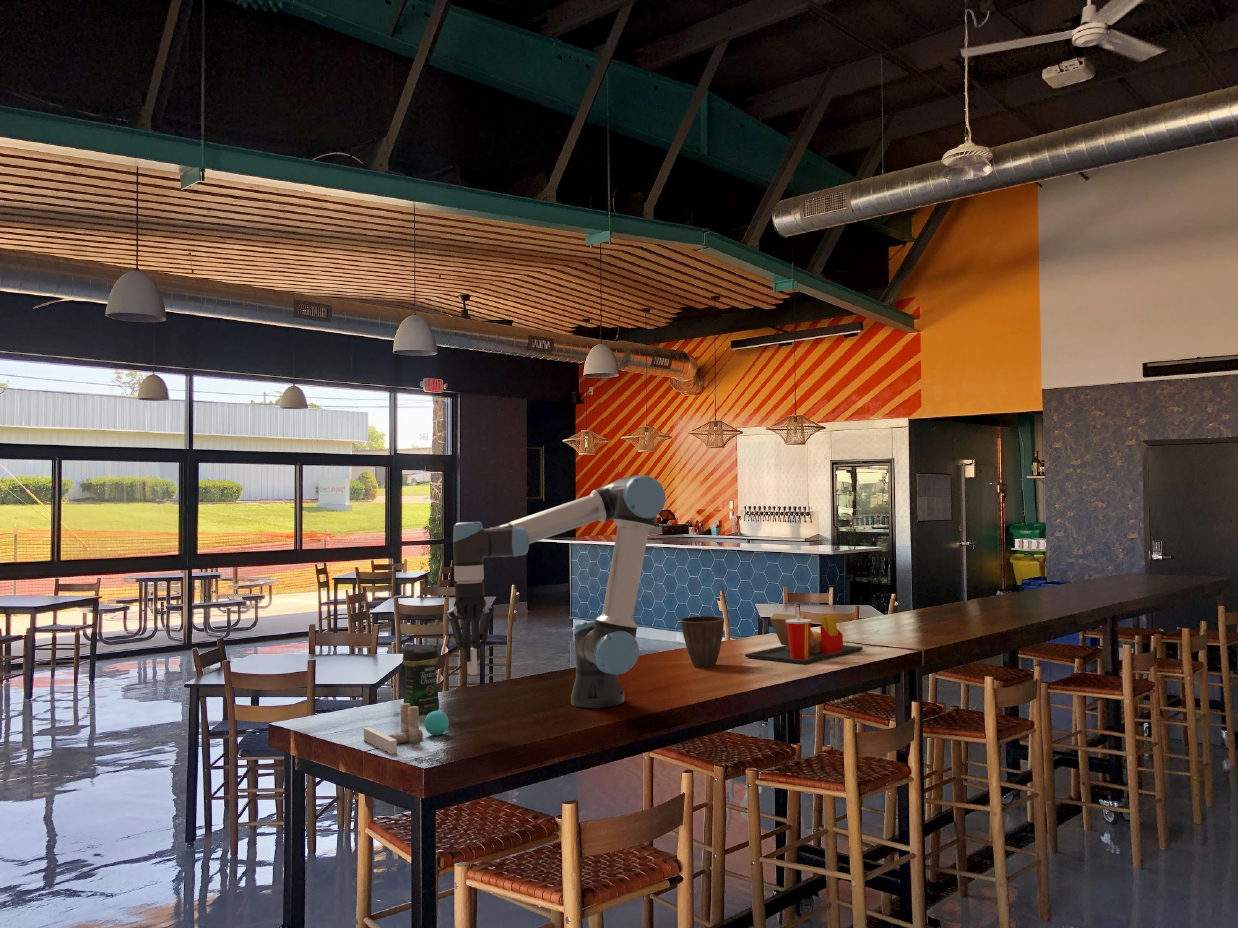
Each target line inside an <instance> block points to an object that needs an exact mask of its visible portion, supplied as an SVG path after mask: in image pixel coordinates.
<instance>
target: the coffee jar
mask: <svg viewBox="0 0 1238 928" xmlns="http://www.w3.org/2000/svg"><path fill="white" fill-rule="evenodd" d="M438 661H439V655H438V648H437V647H436V645H430V644H425V645H416V646H411V647H407V648H404V650H403V653H402V665H403V667H404V693H403V704H404V703H410V707H412V706H418V713H419V716H422V715H428V714H429V713H431V712H433V711H440V700H439V698H440V697H439V690H438V682H437V665H438Z"/></svg>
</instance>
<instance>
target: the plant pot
mask: <svg viewBox="0 0 1238 928" xmlns="http://www.w3.org/2000/svg"><path fill="white" fill-rule="evenodd" d="M680 624H681V625H680V626H681V630H682V635H683V639H684V643H685V646H686V650H687V652H688V655H689V657H690V660H691V663H692V666H693V667H694V668H698V669H699V668H700V669H707V668H713V667H716V665H717V661H718V659H719V655H720V650H721V647H722V640H723V635H724V625H725V617H723V616H722V617H721V616H713V615H709V616H707V615H705V616H703V615H701V616H690V617H683V618H681V619H680Z"/></svg>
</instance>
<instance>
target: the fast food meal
mask: <svg viewBox="0 0 1238 928" xmlns="http://www.w3.org/2000/svg"><path fill="white" fill-rule="evenodd" d="M769 620H770V621H771V624H772V627H773V629H774V631H775V633H776V635H777V638H778V640H779V642H780V645H781V646H776V647H772V648H767V649H762V650H757V651H753V652H750V653H745V654H744V655H745V656H744V657H745V658H749V659H755V660H756V659H757V660H764V661H772V662H773V661H774V662H780V663H781V662H782V663H789V664H790V663H791V664H797V665H798V664H799V665H808V664H811V663H816V662H819V661H820V662H821V661H824V660H828V659H831V658H837V657H840V656H844V655H848V654H853V653H857V652H860V651H862V650H863V646H858V645H847V644H844V640H843V639H844V638H843V636H844V635H843V633H842V632H841V631H840V630H839V629H838V626H837V620H836V614H829V615H828V614H827V615H822V616H820V621H821V625H820V628H819V629H820V632H819V631H816V630H812V629H811V623H812V619H808V618H807V617H806V615H803V614H800V607H796V614H789V613H777V612H774V613H773V614H772V615H771V617H770V618H769Z"/></svg>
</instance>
